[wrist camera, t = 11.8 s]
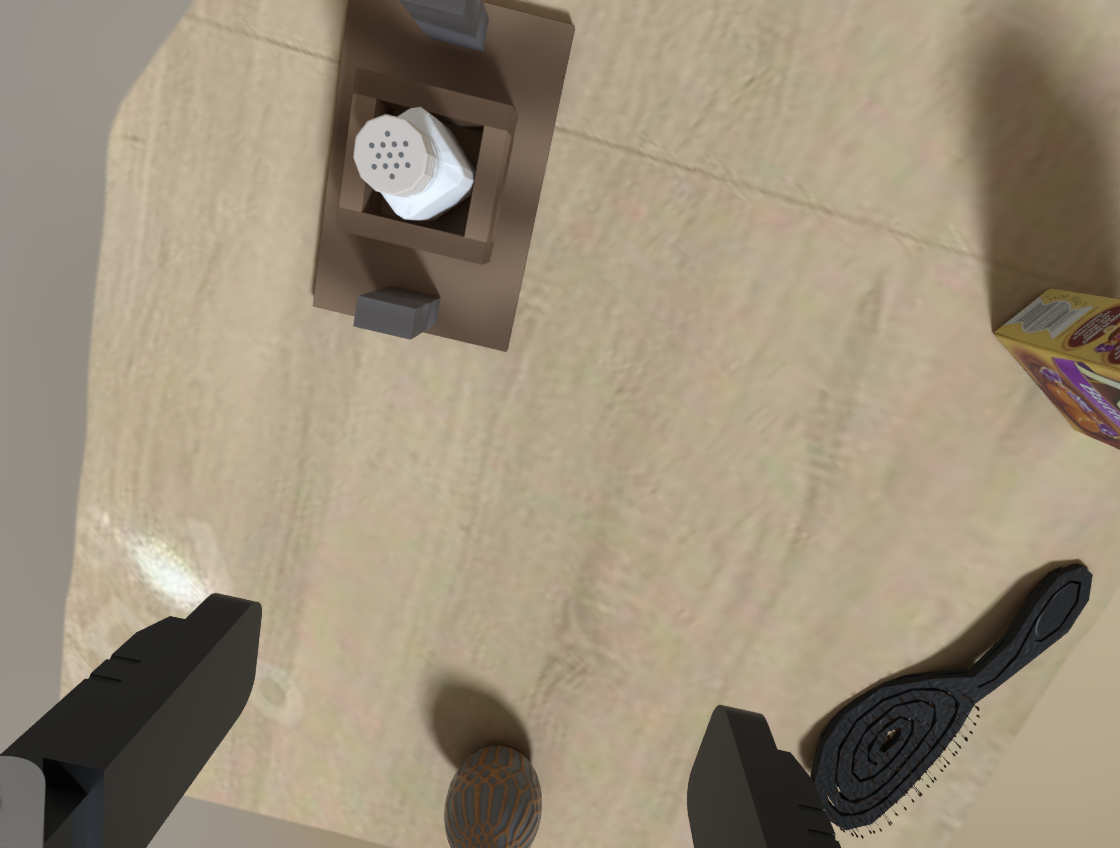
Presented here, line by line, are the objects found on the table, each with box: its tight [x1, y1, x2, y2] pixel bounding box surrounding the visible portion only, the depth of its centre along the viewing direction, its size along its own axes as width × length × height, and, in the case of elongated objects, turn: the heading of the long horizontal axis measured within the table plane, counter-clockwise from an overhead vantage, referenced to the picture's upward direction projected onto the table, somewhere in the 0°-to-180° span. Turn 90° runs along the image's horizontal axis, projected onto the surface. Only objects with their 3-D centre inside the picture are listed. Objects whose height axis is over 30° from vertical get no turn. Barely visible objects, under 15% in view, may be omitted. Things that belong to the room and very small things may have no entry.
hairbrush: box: [811, 564, 1093, 838], centre depth 45 cm, size 8×4×25 cm
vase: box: [444, 746, 542, 848], centre depth 45 cm, size 7×7×9 cm
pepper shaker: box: [353, 107, 476, 221], centre depth 32 cm, size 4×4×10 cm
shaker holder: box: [313, 0, 575, 352], centre depth 34 cm, size 18×12×7 cm, turn 167°
